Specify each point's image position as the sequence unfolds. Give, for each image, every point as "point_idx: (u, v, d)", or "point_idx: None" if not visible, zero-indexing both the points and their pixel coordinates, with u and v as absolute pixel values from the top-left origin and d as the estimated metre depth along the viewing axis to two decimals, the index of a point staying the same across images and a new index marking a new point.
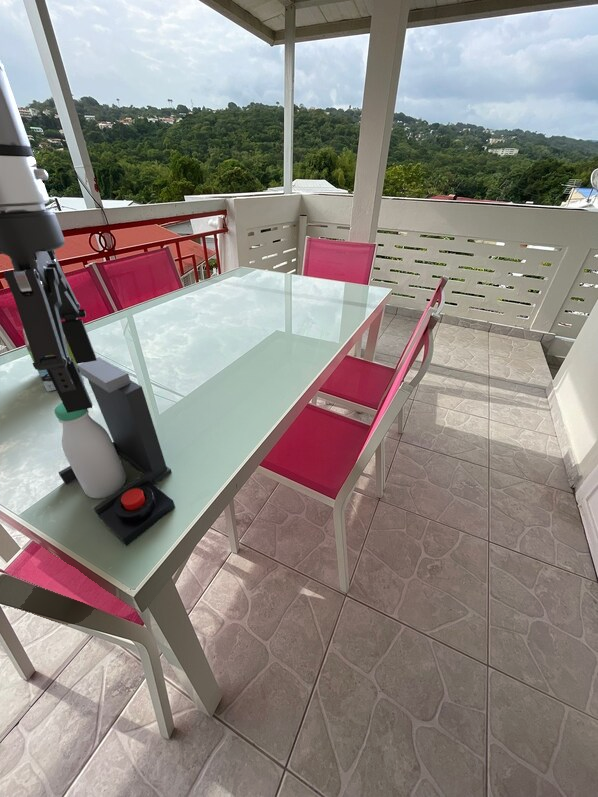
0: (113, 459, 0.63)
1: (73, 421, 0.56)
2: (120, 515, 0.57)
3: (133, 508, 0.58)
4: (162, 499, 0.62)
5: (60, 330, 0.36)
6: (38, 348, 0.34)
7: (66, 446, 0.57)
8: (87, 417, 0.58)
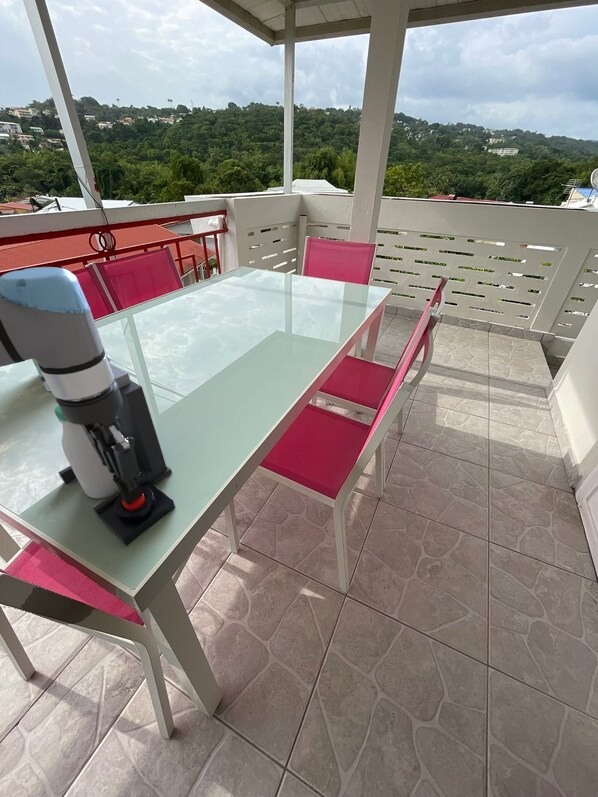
0: None
1: None
2: (120, 515, 0.57)
3: None
4: (162, 499, 0.62)
5: None
6: (128, 474, 0.52)
7: (66, 446, 0.57)
8: None
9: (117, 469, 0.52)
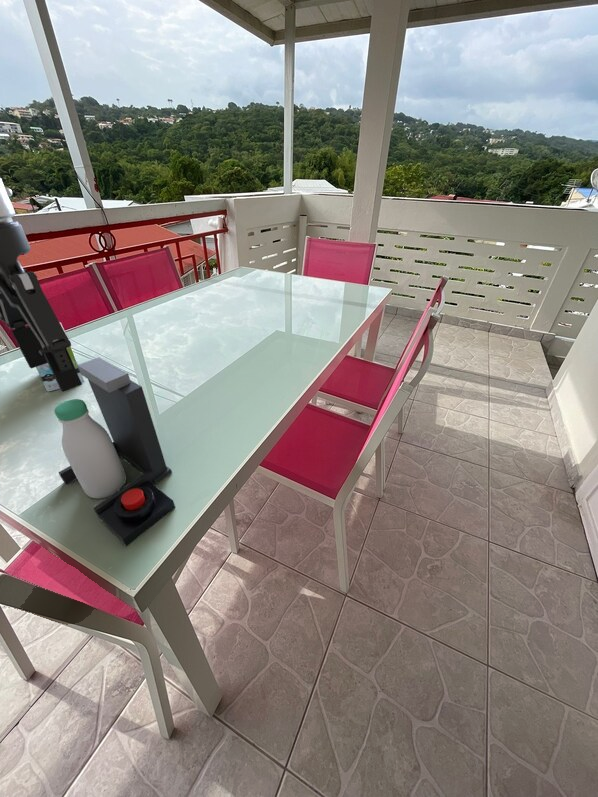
0: (113, 459, 0.63)
1: (73, 421, 0.56)
2: (120, 515, 0.57)
3: (133, 508, 0.58)
4: (162, 499, 0.62)
5: None
6: (49, 334, 0.43)
7: (66, 446, 0.57)
8: (87, 417, 0.58)
9: (37, 332, 0.44)
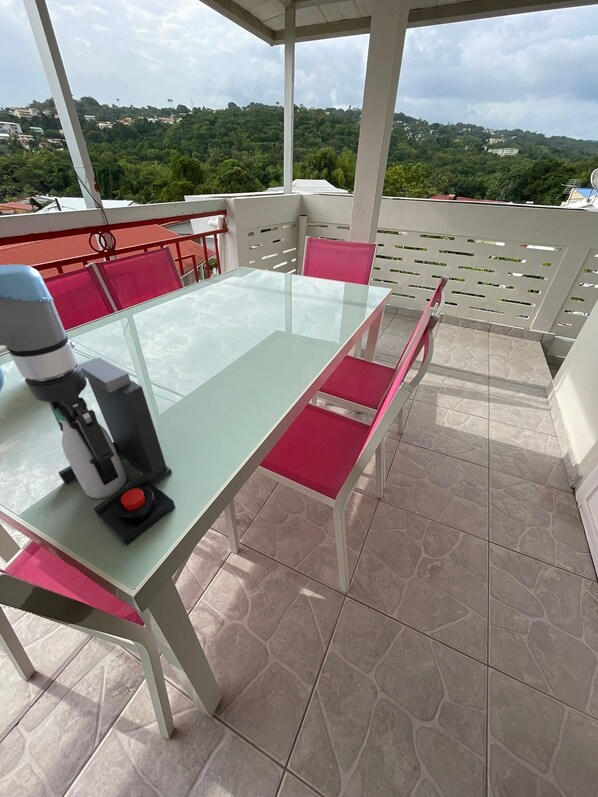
0: (113, 459, 0.63)
1: (73, 421, 0.56)
2: (120, 515, 0.57)
3: (133, 508, 0.58)
4: (162, 499, 0.62)
5: None
6: (100, 452, 0.56)
7: (66, 446, 0.57)
8: None
9: (90, 448, 0.57)
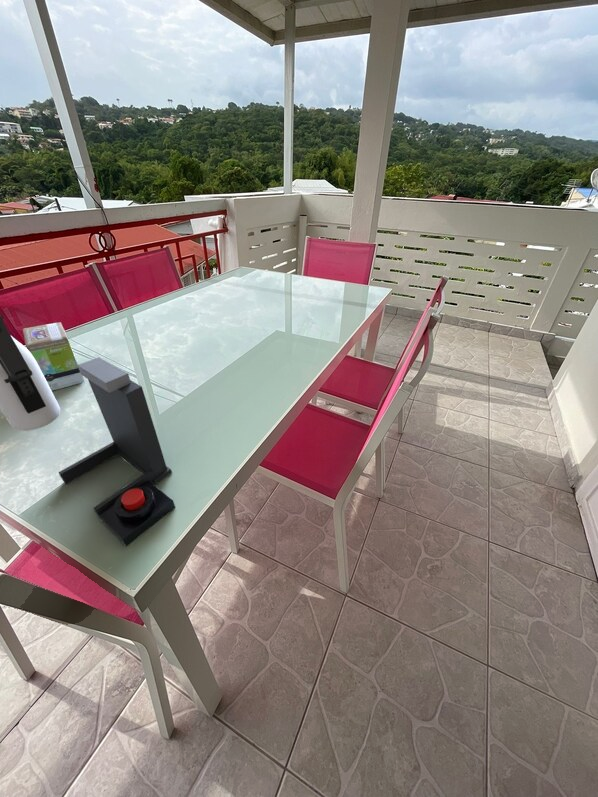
0: (39, 385, 0.56)
1: None
2: (120, 515, 0.57)
3: (133, 508, 0.58)
4: (162, 499, 0.62)
5: None
6: (12, 367, 0.49)
7: None
8: None
9: (3, 363, 0.50)
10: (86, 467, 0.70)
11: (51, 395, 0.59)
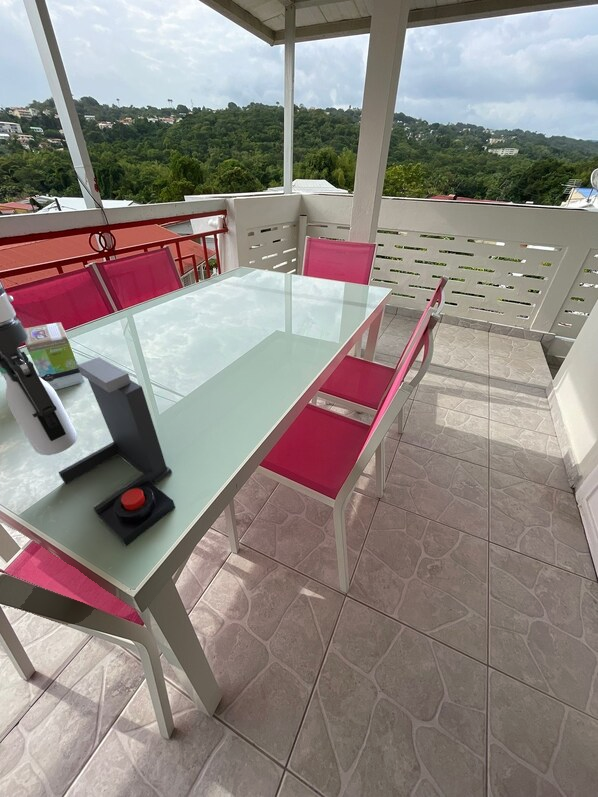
0: (60, 416, 0.65)
1: (14, 375, 0.58)
2: (120, 515, 0.57)
3: (133, 508, 0.58)
4: (162, 499, 0.62)
5: None
6: (40, 404, 0.58)
7: (9, 399, 0.59)
8: None
9: (31, 401, 0.59)
10: (86, 467, 0.70)
11: (70, 423, 0.68)
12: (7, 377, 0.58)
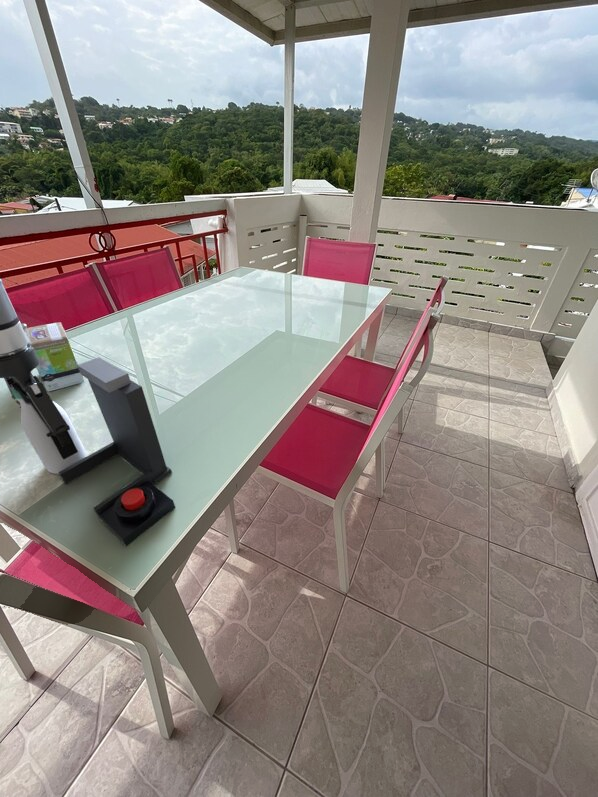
0: (71, 437, 0.68)
1: None
2: (120, 515, 0.57)
3: (133, 508, 0.58)
4: (162, 499, 0.62)
5: None
6: (53, 424, 0.59)
7: (24, 423, 0.62)
8: None
9: (44, 420, 0.60)
10: (86, 467, 0.70)
11: (79, 443, 0.71)
12: (22, 402, 0.61)
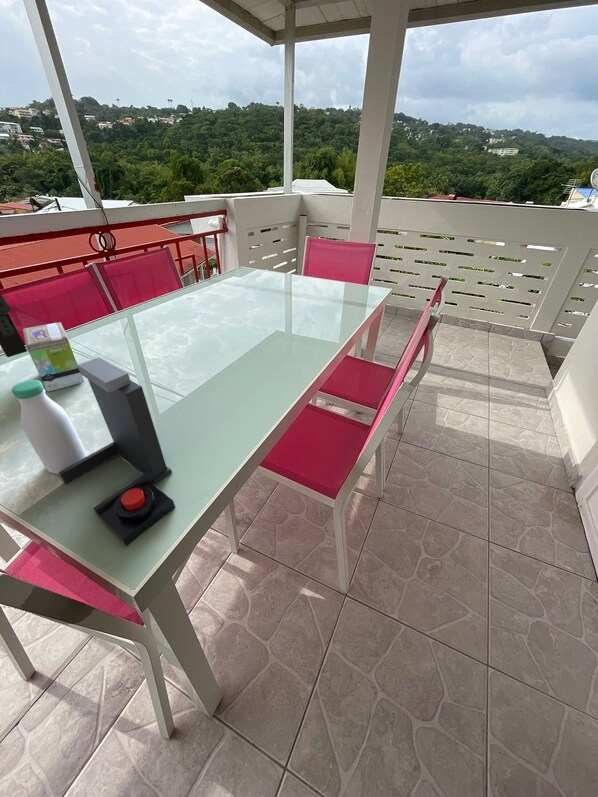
0: (71, 437, 0.68)
1: (29, 400, 0.61)
2: (120, 515, 0.57)
3: (133, 508, 0.58)
4: (162, 499, 0.62)
5: None
6: None
7: (24, 423, 0.62)
8: (44, 396, 0.63)
9: None
10: (86, 467, 0.70)
11: (80, 443, 0.71)
12: (22, 402, 0.61)
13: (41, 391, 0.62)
